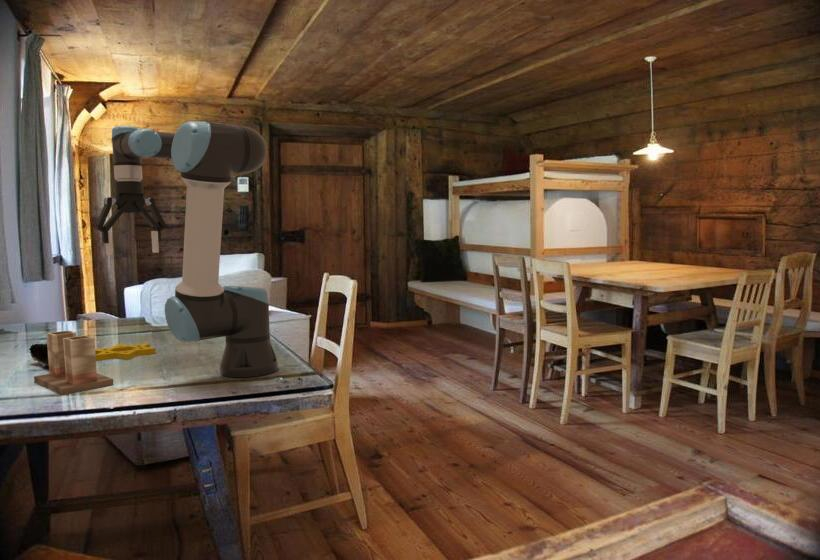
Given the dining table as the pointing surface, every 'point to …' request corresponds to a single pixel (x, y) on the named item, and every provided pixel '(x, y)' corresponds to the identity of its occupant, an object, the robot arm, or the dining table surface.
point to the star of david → (124, 352)
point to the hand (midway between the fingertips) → (133, 253)
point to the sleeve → (80, 359)
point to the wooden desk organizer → (57, 368)
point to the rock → (40, 353)
